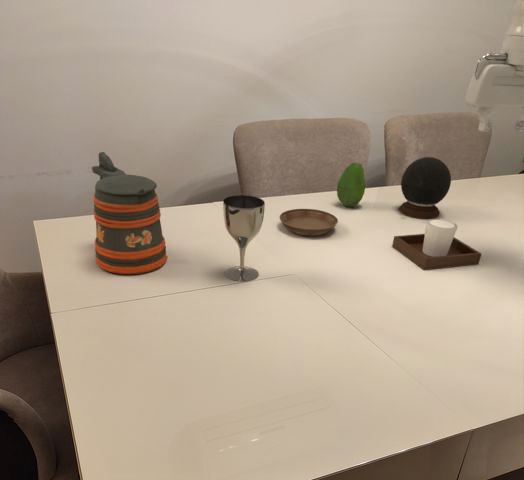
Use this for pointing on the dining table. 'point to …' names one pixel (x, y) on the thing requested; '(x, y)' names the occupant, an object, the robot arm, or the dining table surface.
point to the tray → (455, 257)
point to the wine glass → (243, 229)
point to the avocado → (351, 185)
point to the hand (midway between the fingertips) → (501, 130)
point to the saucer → (308, 221)
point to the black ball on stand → (424, 187)
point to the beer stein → (126, 221)
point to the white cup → (438, 237)
